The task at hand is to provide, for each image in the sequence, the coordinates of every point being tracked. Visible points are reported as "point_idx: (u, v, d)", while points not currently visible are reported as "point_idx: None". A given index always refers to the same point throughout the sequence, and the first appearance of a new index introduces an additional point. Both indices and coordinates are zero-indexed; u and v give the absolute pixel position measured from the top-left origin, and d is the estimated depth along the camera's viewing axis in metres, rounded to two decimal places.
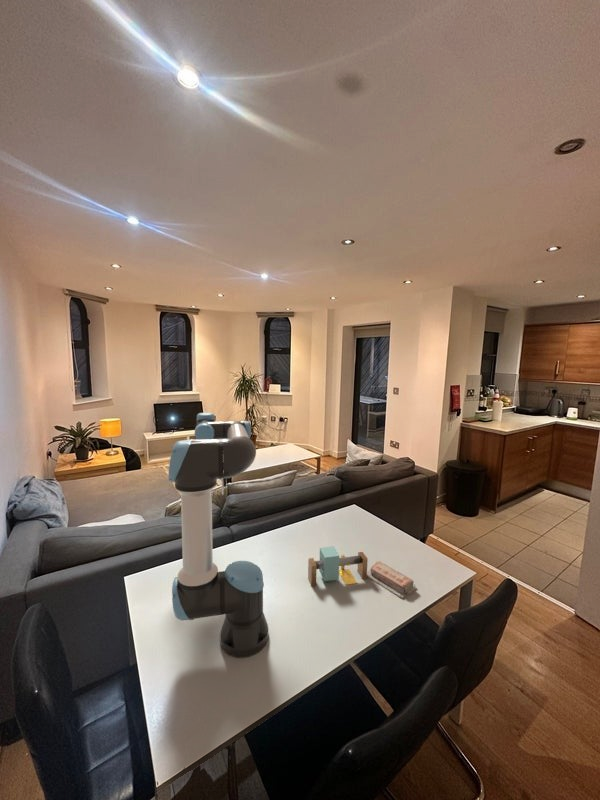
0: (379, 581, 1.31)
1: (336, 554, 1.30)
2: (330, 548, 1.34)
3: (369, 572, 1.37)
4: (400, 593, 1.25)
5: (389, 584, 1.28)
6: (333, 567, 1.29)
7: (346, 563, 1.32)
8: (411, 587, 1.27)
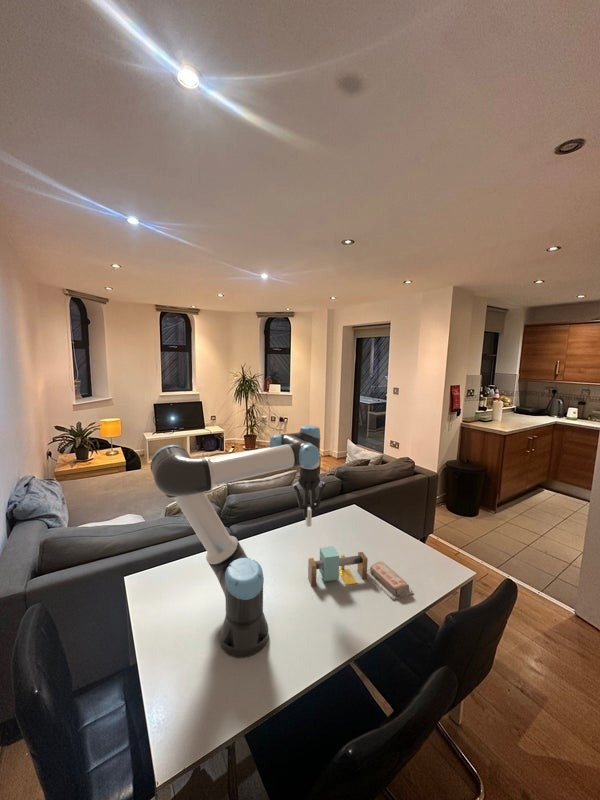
0: (376, 580, 1.32)
1: (336, 554, 1.30)
2: (330, 548, 1.34)
3: (369, 570, 1.38)
4: (392, 595, 1.24)
5: (384, 584, 1.28)
6: (333, 567, 1.29)
7: (346, 563, 1.32)
8: (406, 591, 1.24)
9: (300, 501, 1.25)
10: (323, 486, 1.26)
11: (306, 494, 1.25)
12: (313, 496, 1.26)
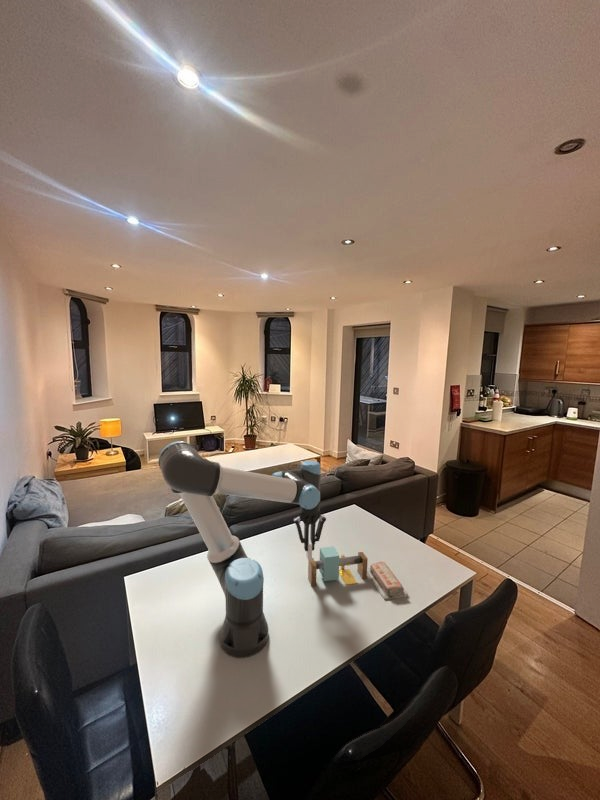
0: (373, 579, 1.33)
1: (336, 554, 1.30)
2: (330, 548, 1.34)
3: None
4: (385, 594, 1.24)
5: (379, 583, 1.29)
6: (333, 567, 1.29)
7: (346, 563, 1.32)
8: (400, 593, 1.23)
9: (301, 535, 1.27)
10: (323, 520, 1.28)
11: (307, 528, 1.27)
12: (314, 530, 1.28)
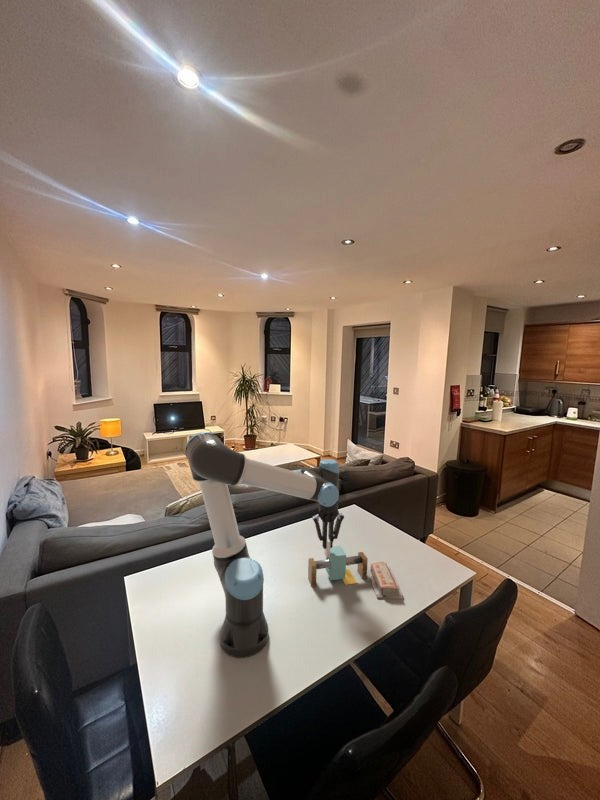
0: (372, 577, 1.34)
1: (343, 553, 1.31)
2: (337, 547, 1.35)
3: None
4: (379, 593, 1.24)
5: (376, 582, 1.29)
6: (340, 566, 1.30)
7: (346, 563, 1.32)
8: (394, 594, 1.23)
9: (320, 533, 1.28)
10: (342, 518, 1.30)
11: (325, 526, 1.29)
12: (332, 528, 1.29)
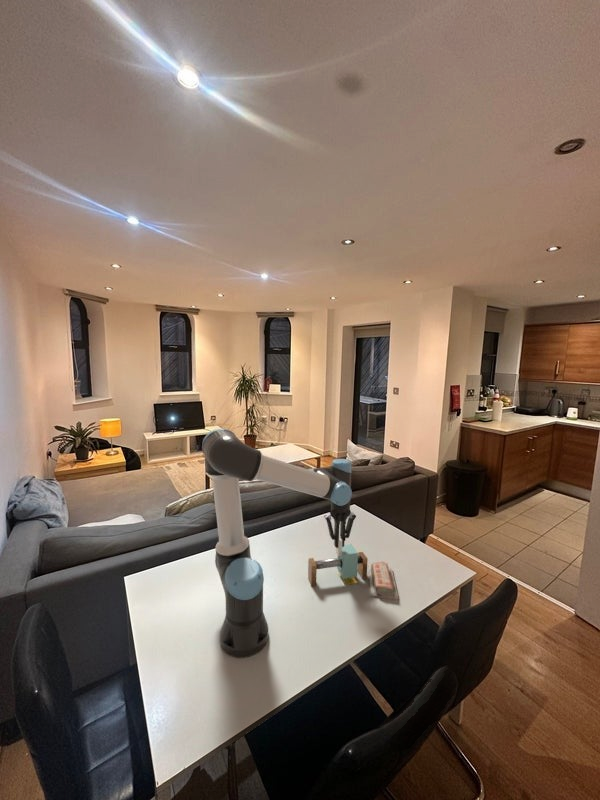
0: (371, 576, 1.34)
1: (354, 551, 1.32)
2: (348, 546, 1.36)
3: None
4: (374, 592, 1.25)
5: (373, 581, 1.30)
6: (352, 564, 1.31)
7: None
8: (388, 594, 1.23)
9: (332, 532, 1.30)
10: (353, 517, 1.31)
11: (337, 525, 1.30)
12: (344, 527, 1.31)
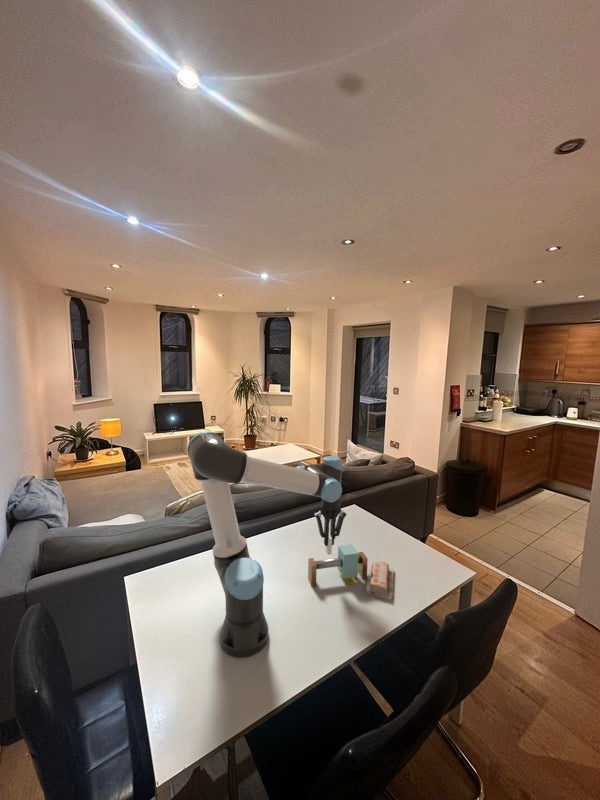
0: (370, 575, 1.35)
1: (355, 552, 1.32)
2: (349, 546, 1.36)
3: None
4: (369, 590, 1.26)
5: None
6: (352, 564, 1.31)
7: None
8: (382, 593, 1.23)
9: (321, 530, 1.28)
10: (344, 515, 1.30)
11: (327, 523, 1.29)
12: (334, 525, 1.29)
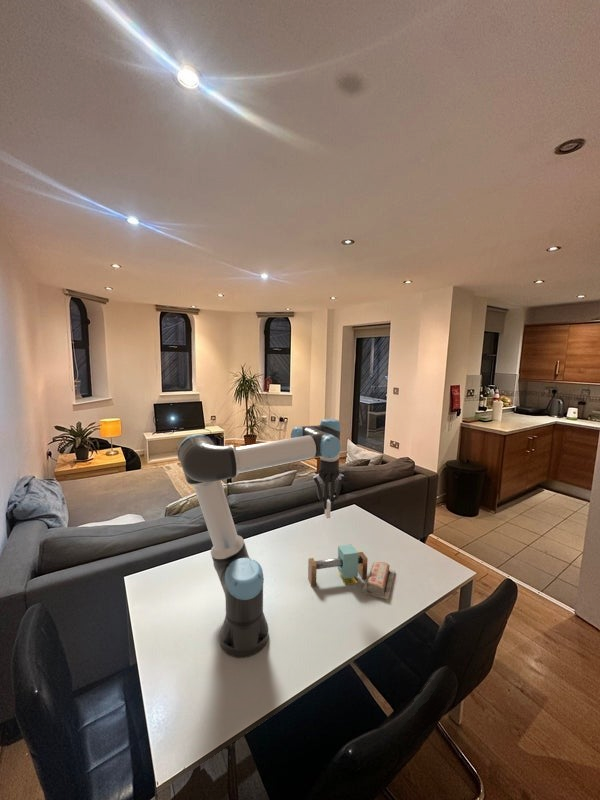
0: (369, 574, 1.36)
1: (355, 551, 1.32)
2: (349, 546, 1.36)
3: None
4: (366, 588, 1.27)
5: None
6: (352, 564, 1.31)
7: None
8: (379, 592, 1.23)
9: (320, 493, 1.27)
10: (342, 479, 1.28)
11: (326, 486, 1.27)
12: (332, 488, 1.28)
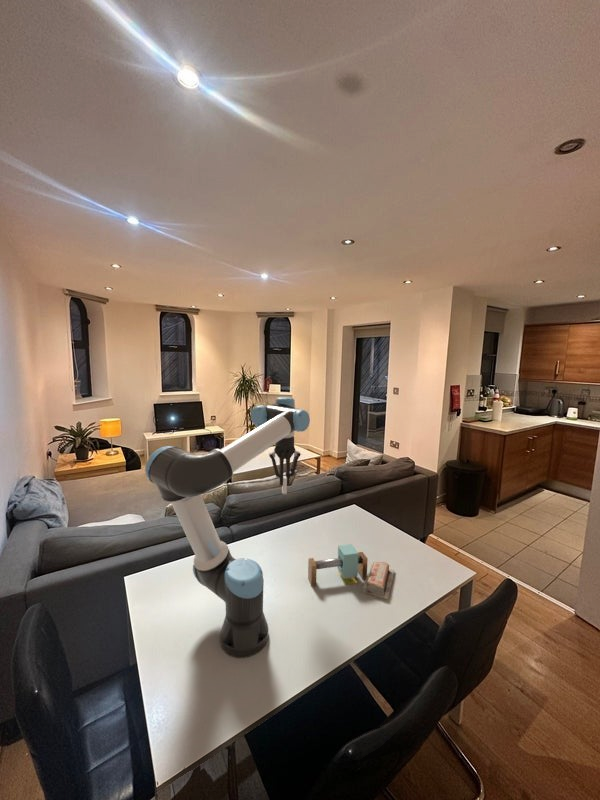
0: (369, 574, 1.36)
1: (355, 551, 1.32)
2: (349, 546, 1.36)
3: None
4: (366, 588, 1.27)
5: None
6: (352, 564, 1.31)
7: None
8: (379, 592, 1.24)
9: (276, 469, 1.31)
10: (298, 455, 1.32)
11: (282, 462, 1.31)
12: (288, 465, 1.32)
